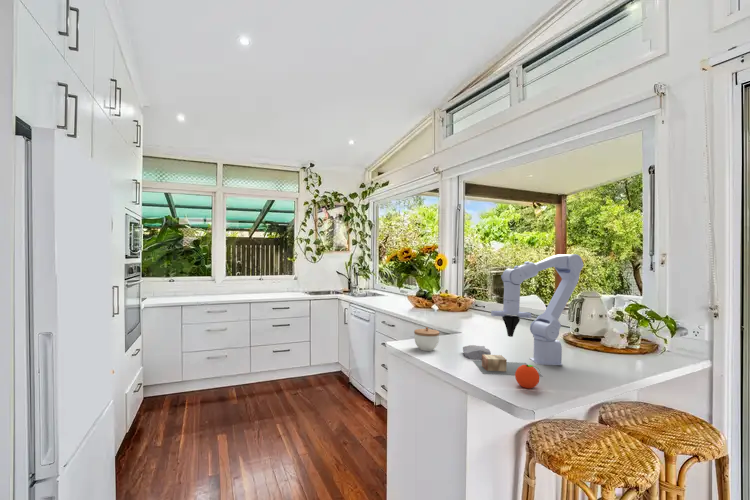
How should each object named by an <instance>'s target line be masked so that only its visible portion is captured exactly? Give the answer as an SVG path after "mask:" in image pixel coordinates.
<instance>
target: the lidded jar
mask: <svg viewBox="0 0 750 500" xmlns="http://www.w3.org/2000/svg"><path fill="white" fill-rule="evenodd" d="M413 333H414V337H413V338H414V343H415V345H416V347H417V348H418V350H420V351H424V352H433V351H434V350H435V349H436V348H437V346H438V344H439V341H440V331H438V330H436V329H431V328H429V327H428V326H425V328H417V329H414V331H413Z"/></svg>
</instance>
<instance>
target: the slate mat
mask: <svg viewBox="0 0 750 500" xmlns="http://www.w3.org/2000/svg"><path fill="white" fill-rule="evenodd" d="M472 362H473V363H474V364H475V366H476V367H477V368H478V369H479V371H480V372H481V373H482V374H483V375H497V376H499V375H500V376H515V373H516V370H517V369H518V367H520V366H522V365H529V364H528V363H526V362H516V361H515V362H513V361H507V365H506V371H487V370H485V369H484V367H483V366H482V360H472ZM538 374H539V378H540V377H541V378H542V377H544V376H543V375H542V374H541V373H540V372H538Z"/></svg>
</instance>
